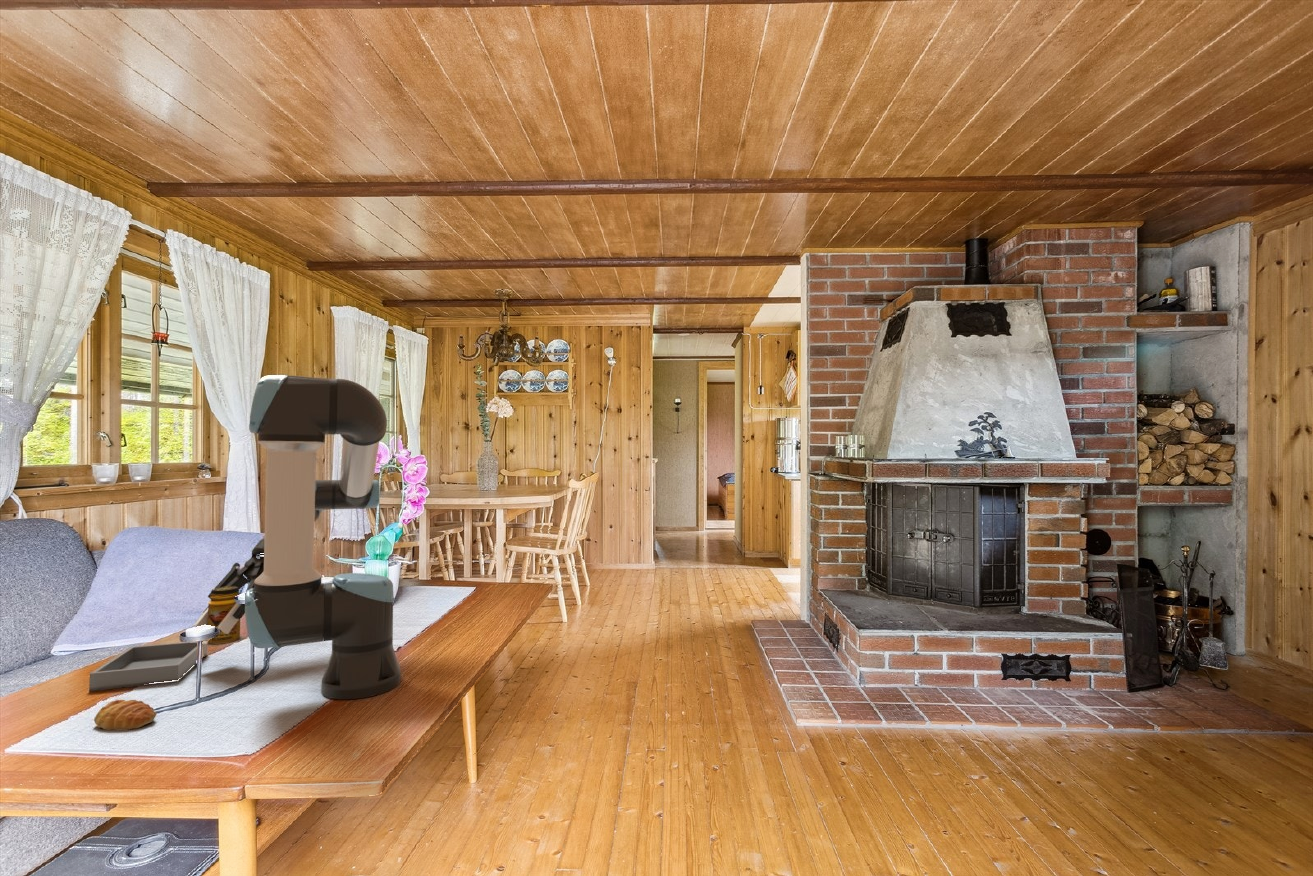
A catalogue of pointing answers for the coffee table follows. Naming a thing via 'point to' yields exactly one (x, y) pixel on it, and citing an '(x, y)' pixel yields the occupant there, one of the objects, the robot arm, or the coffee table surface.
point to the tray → (145, 666)
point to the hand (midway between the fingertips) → (210, 629)
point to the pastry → (124, 715)
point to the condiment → (223, 615)
